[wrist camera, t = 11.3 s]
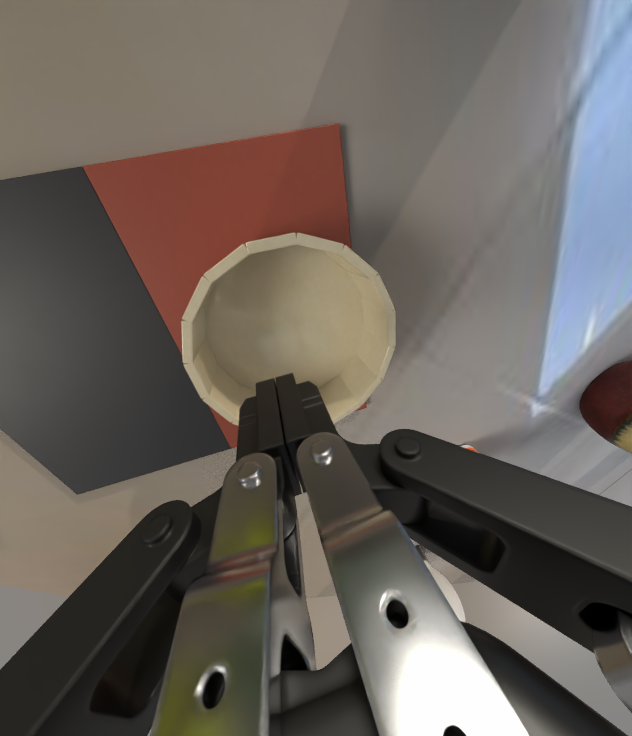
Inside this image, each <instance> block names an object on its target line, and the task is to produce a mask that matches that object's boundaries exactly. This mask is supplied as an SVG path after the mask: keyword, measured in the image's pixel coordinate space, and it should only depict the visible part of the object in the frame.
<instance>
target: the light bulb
mask: <svg viewBox="0 0 632 736" xmlns="http://www.w3.org/2000/svg"><path fill="white" fill-rule="evenodd" d="M415 548H416V549H417V551H418V553H419V554H420V556H421V558H422V559H423V561H424V563H425V564H426V566H427V568H428V569H429V571H430V573H431V574H432V576H433V578H434V579H435V581H436V582H437V584H438V586H439V587H440V589H441V591H442V592H443V594H444V596H445V597H446V599H447V601H448V602H449V604H450V606H451V607H452V609H453V611H454V612H455V614H456V616H457V617H458V619H459V620H460V621H463V622H465V615H464V610H463V607H462V604H461V602H460V600H459V597H458V595H457V593H456V592H455V590H454V588H453V587H452V585H451V584H450V583H449V582H448V580H447V579H446V578H445V577H444V576H443V575H442V574H441V573H439V572H438V571H437V570H435V569H433V568H431V566H430V564H429V562H428V559H426V556H425V554H424V552H423V551H422V549H421V547H420V546H415Z"/></svg>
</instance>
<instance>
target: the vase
mask: <svg viewBox="0 0 632 736" xmlns="http://www.w3.org/2000/svg"><path fill="white" fill-rule="evenodd" d="M580 411H581V414H582V416H583V418H584V419H585V421H586V422H587V423H588V424H589V426H590V427H591V428H592V429H593V430H594V431H596V432H597V433H598V434H599V435H600V436H602V437H603V438H604V439H606V440H607V441H609V442H610V443H612V444H614V445H615V446H617V447H619V448H621V449H623V450H625V451H627V452H629V453H632V361H627V362H623V363H619V364H617V365H615V366H613V367H611V368H609V369H608V370H606V371H605V372H603V373H602V374H601V375H600V376H598V377H597V378H596V379H595V380H594V381H593V382H592V383H591V384H590V385H589V387H588V388H587V389H586V391H585V392H584V394H583V396H582V398H581V400H580Z"/></svg>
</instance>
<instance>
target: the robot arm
mask: <svg viewBox="0 0 632 736" xmlns="http://www.w3.org/2000/svg"><path fill="white" fill-rule="evenodd" d="M275 379H276V382H275ZM275 379H274V378H271V379H268V380H264V381H261V382H257V383H256V396H254V397H250V398H247V399H245V401H244V402H243V404H242V406H241V407H240V410H239V425H238V427H239V429H238V440H237V455H236V462H235V463H234V464H233V465H232V466H231V468H230V469H229V470H228V472H227V473H226V476H225V478H224V482H223V486H222V487H221V488H220V489H219V490H217V491H216V492H215V493H213V494H212V495H210V496H208V497H207V498H205V499H204V500H202V501H200V502H199V503H197V504H195V505H194V506H192V507H190V506H189V505H188V503H186V502H184V501H181V500H175V501H170V502H167V503H164V504H162V505H160V506H159V507H157V508H155V509H154V510H152V511H151V512H150V513H149V514H148V515H146V516H145V517H144V518H143V519H142V520H141V521H140V522H139V523H138V525H137V526H136V527H135V528H134V529H133V530H132V531H131V532H130V533H129V534H128V535H127V536H126V537H125V538H124V539H123V540H122V541H121V543H120V544H119V545H118V546H117V547H116V548H115V549H114V550H113V551H112V552H111V553H110V554H109V555H108V556H107V557H106V558H105V559H104V561H103V562H102V563H101V564H100V565H99V566H98V567H97V568H96V569H95V570H94V571H93V572H92V573H91V574H90V575H89V576H88V577H87V579H86V580H85V581H84V582H83V583H82V584H81V585H80V586H79V587H78V588H77V589H76V590H75V591H74V592H73V593H72V594H71V595H70V597H69V598H68V599H67V600H66V601H65V602H64V603H63V604H62V605H61V606H60V607H59V608H58V609H57V610H56V611H55V612H54V614H53V615H52V616H51V617H50V618H49V619H48V620H47V621H46V622H45V623H44V624H43V625H42V626H41V627H40V628H39V629H38V631H37V632H36V633H35V634H34V635H33V636H32V637H31V638H30V639H29V640H28V641H27V642H26V643H25V644H24V645H23V646H22V647H21V648H20V649H19V650H18V652H17V653H16V654H15V655H14V656H13V657H12V658H11V659H10V660H9V661H8V662H7V663H6V664H5V666H3V667H2V668H1V670H0V736H147V735H148V733H149V731H150V729H151V728H152V729H151V733H150V736H628V735H626V734H625V733H624V732H622V731H621V730H620V729H618V728H617V727H616V726H615V725H613V724H612V723H610V722H609V721H608V720H606V719H605V718H604V717H602V716H601V715H600V714H599V713H597V712H596V711H595V710H593V709H592V708H591V707H589V706H588V705H587V704H585V703H584V702H583V701H581V700H580V699H579V698H577V697H576V696H575V695H573V694H572V693H571V692H569V691H568V690H567V689H566V688H564V687H563V686H562V685H560V684H559V683H558V682H556V681H555V680H554V679H552V678H551V677H550V676H548V675H547V674H546V673H544V672H543V671H542V670H540V669H539V668H538V667H536V666H535V665H534V664H532V663H531V662H530V661H528V660H527V659H526V658H524V657H523V656H522V655H520V654H519V653H518V652H516V651H515V650H514V649H512V648H511V647H510V646H508V645H507V644H505V643H504V642H502V641H501V640H499V639H498V638H496V637H494V636H492V635H491V634H489V633H487V632H486V631H484V630H481V629H480V628H477V627H475V626H473V625H471V624H469V623H466V622H463V621H460V620H459V619H458V617H457V616H456V614H455V612H454V611H453V609H452V607H451V606H450V604H449V602H448V601H447V599H446V597H445V596H444V594H443V592H442V591H441V589H440V587H439V586H438V584H437V582H436V581H435V579H434V578H433V576H432V574H431V573H430V571H429V569H428V568H427V566H426V564H425V563H424V561H423V559H422V558H421V556H420V554H419V553H418V551H417V549H416V548H415V546H414V544H413V543H412V541H411V539H412V540H414V541H415V542H417V543H419V544H420V545H422V546H423V547H425V548H427V549H428V550H430V551H431V552H433V553H435V554H436V555H438V556H439V557H441V558H443V559H444V560H446V561H447V562H449V563H451V564H452V565H454V566H455V567H457V568H459V569H460V570H462V571H463V572H465V573H467V574H468V575H470V576H471V577H473V578H475V579H476V580H478V581H479V582H481V583H483V584H484V585H486V586H488V587H489V588H491V589H492V590H494V591H495V592H497V593H499V594H500V595H502V596H504V597H505V598H507V599H508V600H510V601H511V602H513V603H515V604H516V605H518V606H520V607H521V608H523V609H524V610H526V611H527V612H529V613H531V614H532V615H534V616H535V617H537V618H539V619H540V620H542V621H543V622H545V623H547V624H548V625H550V626H552V627H553V628H555V629H556V630H558V631H560V632H561V633H563V634H564V635H566V636H567V637H569V638H571V639H572V640H574V641H576V642H577V643H579V644H580V645H582V646H583V647H585V648H587V649H588V650H590V651H591V652H593V653H595V656H596V659H597V662H598V664H599V666H600V668H601V671H602V673H603V674H604V676H605V678H606V679H607V681H608V683H609V685H610V686H611V687H612V689H613V691H614V692H615V693H616V695H617V696H618V698H619V699H620V700H621V701H622V702H623V703H624V704H625V706H626V707H627V708H628V709H629V710H630V711H631V713H632V507H631V506H628V505H625V504H622V503H619V502H616V501H614V500H611V499H608V498H605V497H602V496H599V495H597V494H594V493H591V492H588V491H585V490H582V489H580V488H577V487H574V486H571V485H568V484H565V483H563V482H560V481H557V480H554V479H551V478H548V477H546V476H543V475H540V474H537V473H534V472H531V471H529V470H526V469H523V468H520V467H517V466H514V465H512V464H509V463H506V462H503V461H500V460H497V459H495V458H492V457H489V456H486V455H483V454H480V453H478V452H475V451H472V450H469V449H466V448H463V447H461V446H458V445H455V444H452V443H449V442H446V441H444V440H441V439H438V438H435V437H432V436H429V435H427V434H424V433H421V432H418V431H415V430H410V429H398V430H394V431H391V432H389V433H388V434H386V435H385V436H384V437H383V438H382V440H381V442H380V444H367V445H363V444H354V443H351V442H349V441H346V440H345V439H343V438H342V437H341V436H340V435H339V434H338V432H337V431H336V428H335V426H334V424H333V422H332V419H331V417H330V415H329V413H328V410H327V408H326V406H325V403H324V401H323V399H322V397H321V394H320V392H319V390H318V387H317V386H316V385H314V384H313V383H311V382H310V381H306V382H303V383H299V384H296V381H295V378H294V375H293V373H289V374H286V375H282V376H278V377H275ZM299 481H300V482H299ZM300 484H301V486H302V489H303V492H304V493H305V492H307V496H308V499H309V502H310V505H311V509H312V512H313V515H314V519H315V522H316V525H317V528H318V532H319V535H320V540H321V543H322V547H323V550H324V554H325V557H326V560H327V564H328V567H329V570H330V574H331V577H332V580H333V583H334V587H335V590H336V593H337V597H338V600H339V603H340V607H341V610H342V613H343V616H344V620H345V623H346V626H347V630H348V633H349V636H350V640H351V644H350V645H349V646H348V647H346V648H345V649H344V650H343V651H342V652H341V653H340V654H339V655H338V656H337V657H335V658H334V659H333V660H332V661H331V662H330V663H329V664H328V665H327V666H325V667H324V668H323V669H320V670H317V669H316V659H315V650H314V640H313V633H312V627H311V621H310V616H309V612H308V608H307V602H306V595H305V584H304V574H303V563H302V552H301V541H300V530H299V521H298V517H297V509H296V503H295V497H294V496H296V495H299V494H302V493H301V487H300ZM410 538H411V539H410Z"/></svg>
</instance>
